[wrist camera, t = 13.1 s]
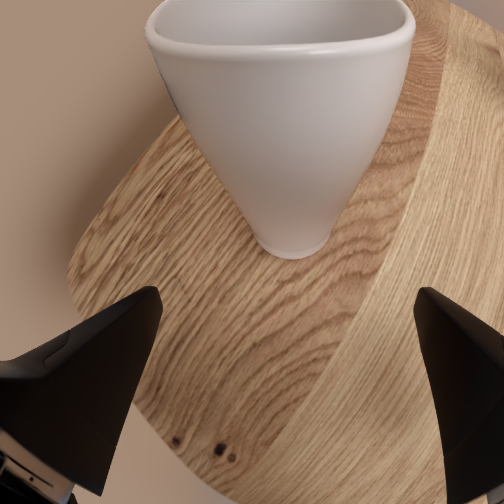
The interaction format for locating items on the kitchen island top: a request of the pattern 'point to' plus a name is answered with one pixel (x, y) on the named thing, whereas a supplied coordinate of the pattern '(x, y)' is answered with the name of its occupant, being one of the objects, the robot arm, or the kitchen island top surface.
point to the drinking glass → (285, 101)
